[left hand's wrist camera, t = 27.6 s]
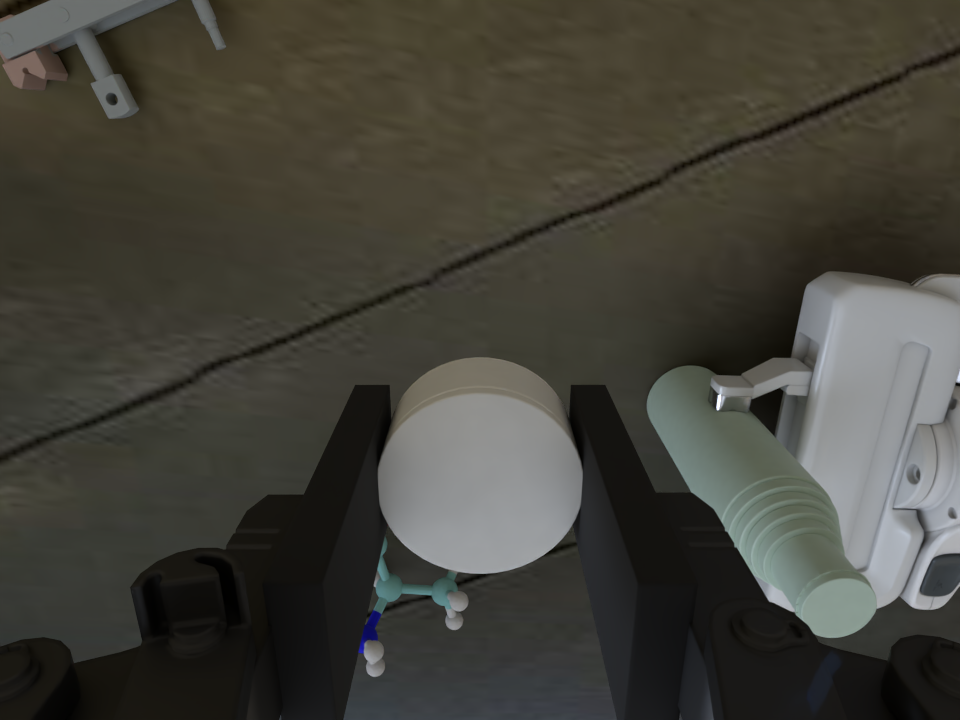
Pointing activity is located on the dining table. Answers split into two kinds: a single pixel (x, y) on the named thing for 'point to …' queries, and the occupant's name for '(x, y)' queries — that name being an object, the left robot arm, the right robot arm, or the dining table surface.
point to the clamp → (79, 43)
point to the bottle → (762, 502)
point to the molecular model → (391, 590)
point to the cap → (480, 467)
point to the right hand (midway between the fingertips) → (703, 446)
